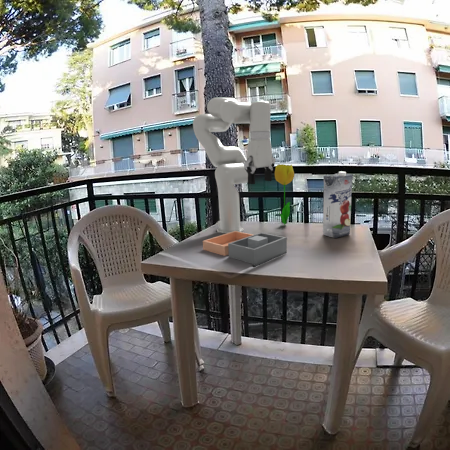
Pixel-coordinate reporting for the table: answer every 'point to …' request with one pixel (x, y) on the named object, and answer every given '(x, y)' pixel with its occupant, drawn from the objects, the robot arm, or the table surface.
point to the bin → (258, 249)
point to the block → (257, 241)
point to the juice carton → (337, 204)
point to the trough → (223, 242)
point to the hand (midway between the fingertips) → (259, 182)
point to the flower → (284, 176)
